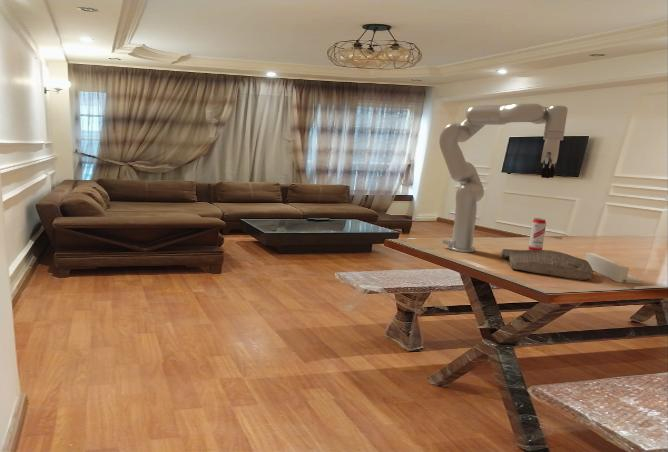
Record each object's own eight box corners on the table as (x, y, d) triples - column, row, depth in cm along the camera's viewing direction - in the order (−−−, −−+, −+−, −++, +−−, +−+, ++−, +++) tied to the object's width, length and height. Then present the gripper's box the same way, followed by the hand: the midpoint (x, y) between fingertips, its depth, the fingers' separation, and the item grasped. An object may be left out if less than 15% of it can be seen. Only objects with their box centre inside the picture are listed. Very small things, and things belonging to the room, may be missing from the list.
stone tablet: (509, 271, 180) (593, 283, 171) (511, 251, 179) (596, 262, 169) (507, 261, 199) (583, 271, 190) (509, 243, 198) (586, 252, 188)
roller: (504, 259, 199) (506, 250, 198) (501, 257, 203) (502, 248, 203) (527, 261, 199) (528, 251, 199) (522, 258, 204) (524, 249, 203)
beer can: (544, 252, 219) (549, 220, 216) (531, 251, 219) (536, 219, 216) (538, 249, 225) (543, 218, 223) (526, 248, 225) (530, 217, 223)
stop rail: (618, 282, 173) (621, 267, 172) (584, 265, 197) (586, 252, 196) (642, 283, 173) (645, 268, 172) (605, 267, 197) (607, 253, 196)
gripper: (547, 137, 196) (541, 176, 199) (540, 134, 181) (533, 177, 185) (566, 137, 192) (560, 178, 195) (560, 135, 177) (553, 179, 180)
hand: (547, 177), depth 190 cm, fingers open, 9 cm apart
